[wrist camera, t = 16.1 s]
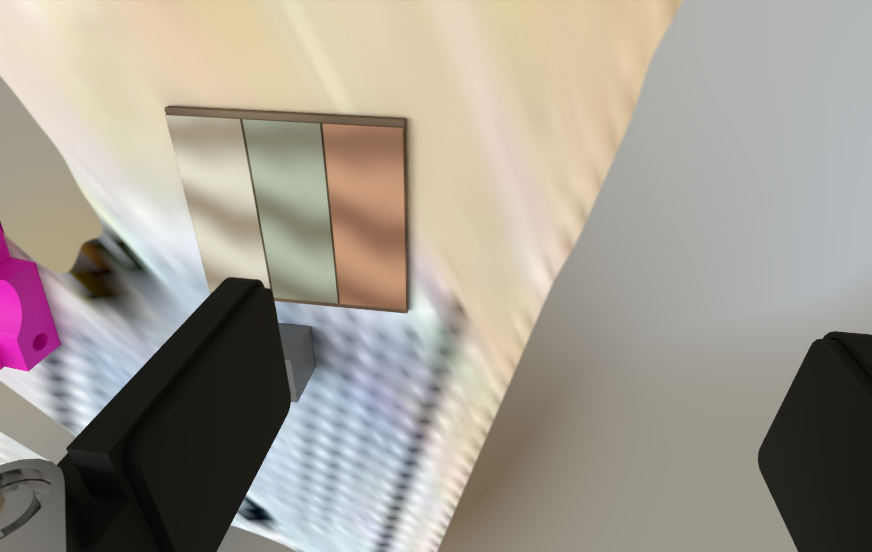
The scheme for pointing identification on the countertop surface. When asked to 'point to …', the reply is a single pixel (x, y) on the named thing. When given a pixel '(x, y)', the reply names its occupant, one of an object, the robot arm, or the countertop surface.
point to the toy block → (23, 314)
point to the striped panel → (298, 202)
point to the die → (297, 356)
